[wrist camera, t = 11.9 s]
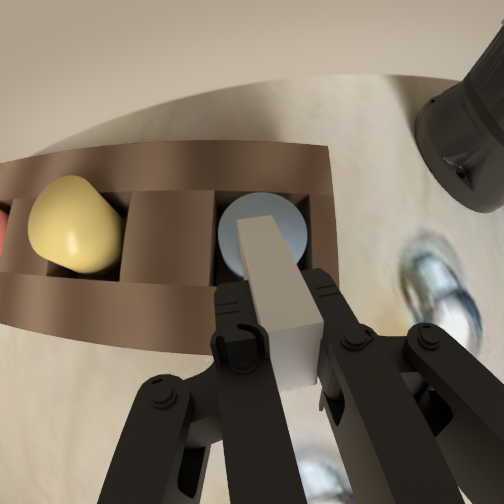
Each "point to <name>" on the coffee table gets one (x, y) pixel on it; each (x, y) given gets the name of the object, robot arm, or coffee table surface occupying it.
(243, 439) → the robot arm
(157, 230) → the console
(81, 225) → the mustard button
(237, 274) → the slate button
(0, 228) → the red button
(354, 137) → the coffee table surface
